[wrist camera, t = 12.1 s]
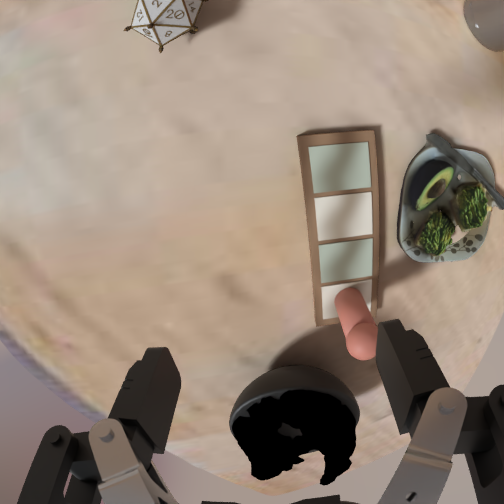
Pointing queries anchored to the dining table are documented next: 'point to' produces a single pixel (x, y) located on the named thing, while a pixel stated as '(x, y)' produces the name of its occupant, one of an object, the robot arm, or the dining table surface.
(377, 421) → the dining table surface
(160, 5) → the game die
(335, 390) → the coal bowl
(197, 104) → the dining table surface
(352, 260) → the board
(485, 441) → the robot arm
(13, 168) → the dining table surface
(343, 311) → the pawn
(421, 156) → the salad plate
